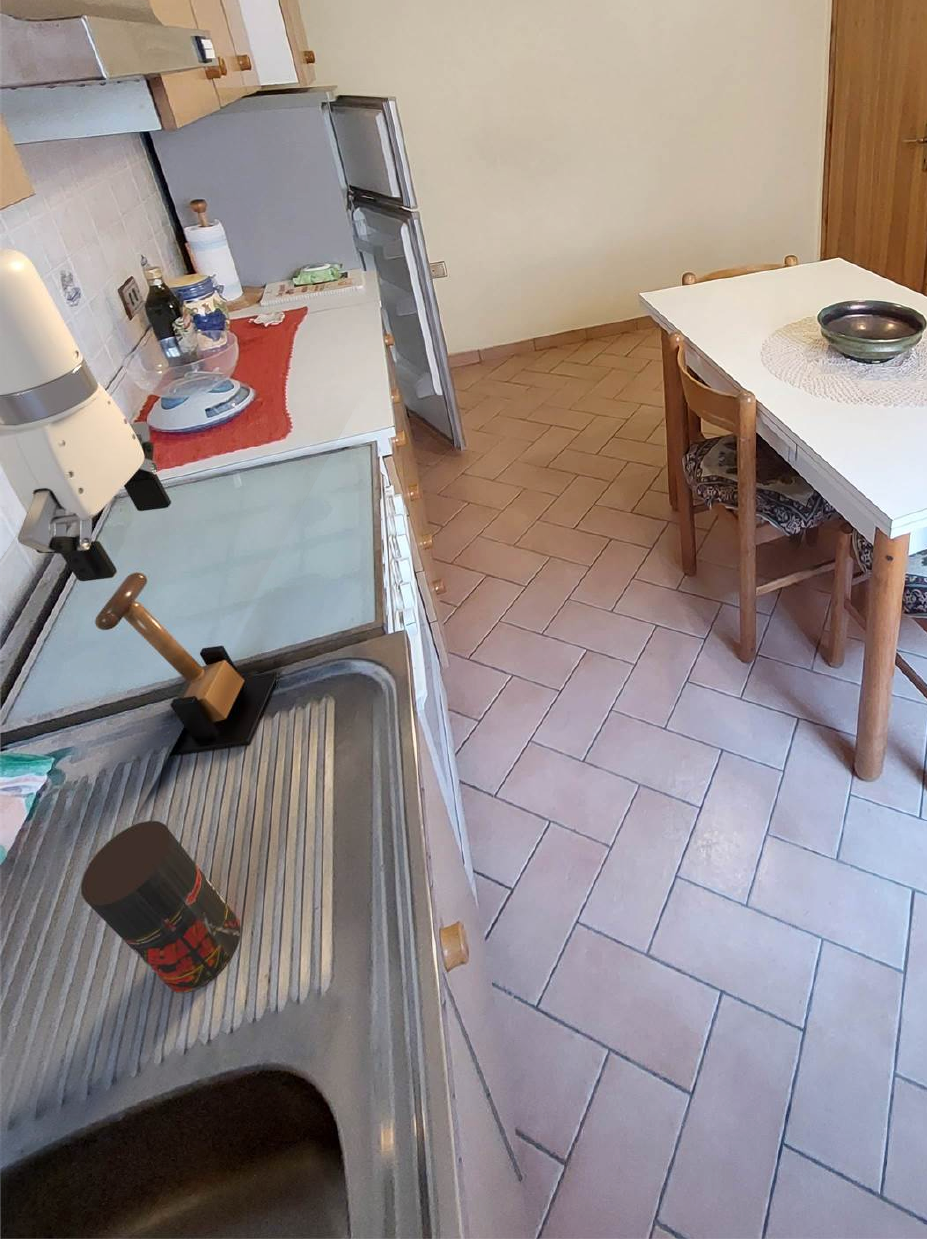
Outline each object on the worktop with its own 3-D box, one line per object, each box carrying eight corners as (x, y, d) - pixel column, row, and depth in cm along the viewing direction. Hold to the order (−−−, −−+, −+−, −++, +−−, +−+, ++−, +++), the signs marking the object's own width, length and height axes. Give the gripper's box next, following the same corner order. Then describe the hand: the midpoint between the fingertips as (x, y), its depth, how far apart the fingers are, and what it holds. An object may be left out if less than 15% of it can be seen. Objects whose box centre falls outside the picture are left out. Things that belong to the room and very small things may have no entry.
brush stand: (159, 758, 78) (129, 717, 75) (198, 687, 86) (172, 646, 83) (250, 745, 79) (224, 703, 75) (280, 675, 87) (258, 635, 83)
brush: (69, 628, 70) (109, 616, 69) (111, 576, 76) (148, 564, 75) (186, 737, 79) (222, 727, 78) (214, 682, 85) (248, 673, 85)
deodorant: (148, 983, 60) (61, 895, 53) (202, 904, 65) (129, 814, 58) (204, 1001, 59) (123, 913, 51) (255, 919, 64) (187, 828, 56)
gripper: (61, 351, 68) (138, 489, 76) (-87, 456, 53) (28, 615, 61) (141, 342, 68) (209, 480, 77) (15, 444, 53) (117, 603, 62)
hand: (128, 540), depth 69 cm, fingers open, 9 cm apart
